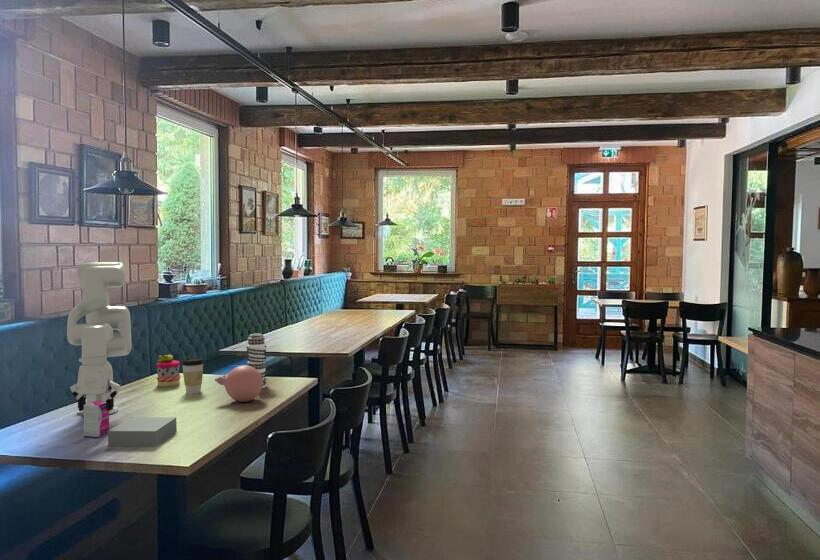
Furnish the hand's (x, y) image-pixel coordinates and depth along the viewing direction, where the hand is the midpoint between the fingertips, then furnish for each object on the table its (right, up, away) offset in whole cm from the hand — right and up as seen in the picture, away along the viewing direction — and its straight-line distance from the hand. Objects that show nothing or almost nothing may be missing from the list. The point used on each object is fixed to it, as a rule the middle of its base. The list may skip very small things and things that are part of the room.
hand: (96, 410), depth 205 cm
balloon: (+36, -7, +47) cm, 60 cm away
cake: (-7, -6, +79) cm, 80 cm away
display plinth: (+18, -9, -2) cm, 20 cm away
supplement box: (0, -9, +1) cm, 9 cm away
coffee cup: (+10, -6, +64) cm, 65 cm away
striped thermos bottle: (+37, -6, +74) cm, 83 cm away
